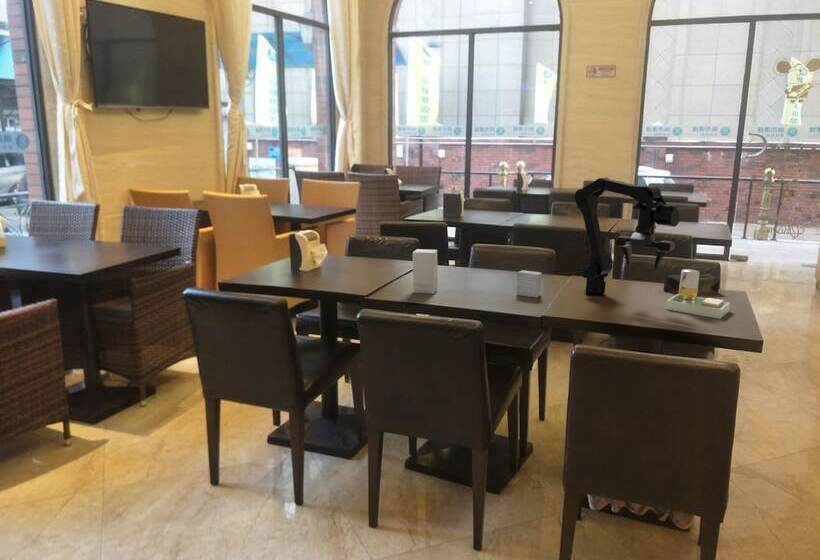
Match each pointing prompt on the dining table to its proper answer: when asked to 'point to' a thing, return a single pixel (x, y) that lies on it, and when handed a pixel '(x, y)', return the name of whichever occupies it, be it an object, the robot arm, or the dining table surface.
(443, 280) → the dining table surface
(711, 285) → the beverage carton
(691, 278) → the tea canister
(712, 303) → the butter box
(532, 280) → the medicine box
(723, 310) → the tote
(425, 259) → the skincare box
